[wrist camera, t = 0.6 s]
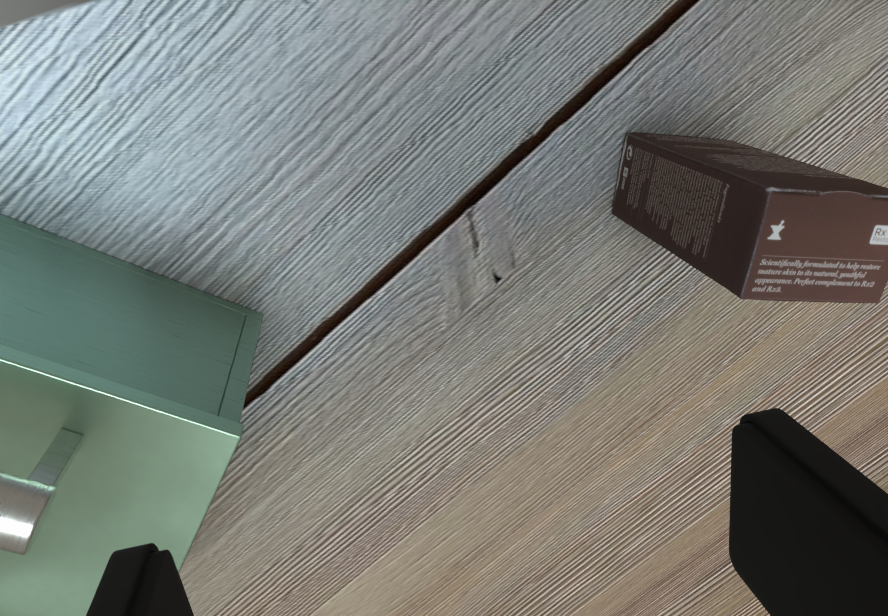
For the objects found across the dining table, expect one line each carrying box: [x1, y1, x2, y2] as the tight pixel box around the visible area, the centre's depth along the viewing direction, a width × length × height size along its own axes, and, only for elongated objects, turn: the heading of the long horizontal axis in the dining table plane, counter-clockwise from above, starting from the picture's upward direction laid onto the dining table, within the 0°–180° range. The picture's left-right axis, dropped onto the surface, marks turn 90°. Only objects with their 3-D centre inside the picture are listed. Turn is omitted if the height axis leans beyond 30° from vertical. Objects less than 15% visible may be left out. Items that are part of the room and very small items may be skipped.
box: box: [612, 132, 888, 303], centre depth 30 cm, size 6×4×12 cm
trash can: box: [0, 214, 263, 423], centre depth 29 cm, size 16×14×12 cm
